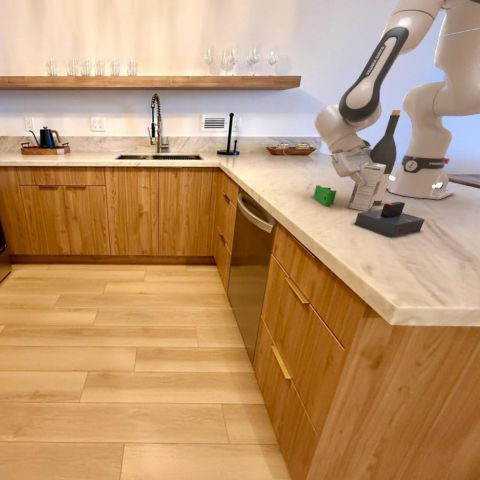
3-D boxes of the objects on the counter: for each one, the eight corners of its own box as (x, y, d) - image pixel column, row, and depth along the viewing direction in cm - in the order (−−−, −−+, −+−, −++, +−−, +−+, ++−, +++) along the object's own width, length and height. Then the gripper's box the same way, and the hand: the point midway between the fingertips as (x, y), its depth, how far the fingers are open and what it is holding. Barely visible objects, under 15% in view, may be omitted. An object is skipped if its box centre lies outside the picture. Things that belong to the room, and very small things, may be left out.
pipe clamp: (336, 206, 98) (340, 193, 96) (325, 206, 98) (328, 193, 96) (323, 197, 108) (326, 185, 106) (313, 196, 108) (316, 184, 106)
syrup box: (352, 204, 100) (365, 161, 94) (372, 208, 96) (386, 164, 90) (347, 207, 96) (360, 163, 90) (368, 212, 92) (382, 166, 86)
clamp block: (382, 219, 86) (386, 207, 85) (420, 231, 78) (425, 218, 76) (354, 224, 82) (357, 212, 81) (390, 237, 74) (395, 224, 72)
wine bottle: (384, 206, 98) (417, 110, 85) (357, 203, 100) (385, 110, 88) (377, 200, 104) (407, 110, 92) (352, 197, 107) (378, 110, 95)
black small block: (394, 213, 80) (399, 200, 79) (400, 215, 79) (405, 202, 77) (380, 216, 78) (384, 202, 77) (386, 217, 77) (390, 204, 75)
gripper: (337, 144, 88) (362, 182, 85) (371, 141, 98) (394, 175, 94) (320, 157, 94) (342, 193, 90) (354, 153, 103) (375, 185, 99)
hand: (369, 184), depth 92 cm, fingers closed on syrup box, 6 cm apart
